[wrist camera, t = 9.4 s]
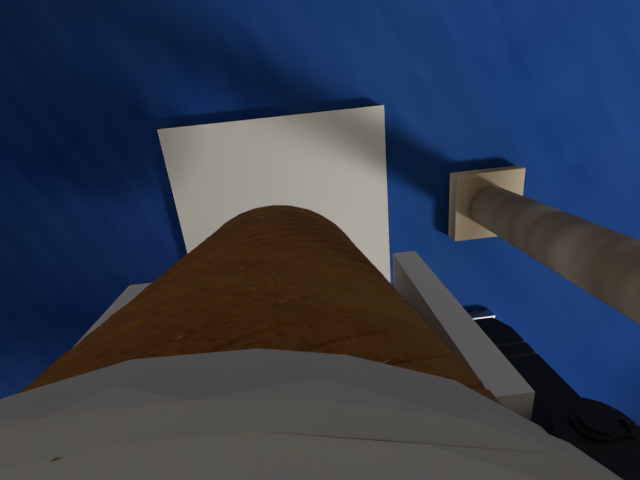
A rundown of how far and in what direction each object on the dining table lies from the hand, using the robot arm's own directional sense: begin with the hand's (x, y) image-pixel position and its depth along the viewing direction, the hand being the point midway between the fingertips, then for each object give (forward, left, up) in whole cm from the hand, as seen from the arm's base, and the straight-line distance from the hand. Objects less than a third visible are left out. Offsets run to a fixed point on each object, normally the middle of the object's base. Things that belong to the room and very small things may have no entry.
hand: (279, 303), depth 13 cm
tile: (0, 0, -10) cm, 10 cm away
